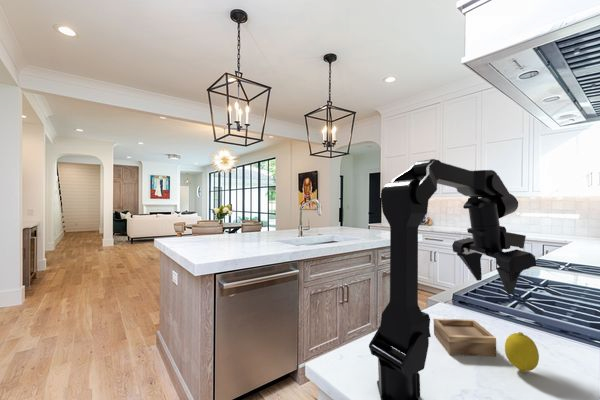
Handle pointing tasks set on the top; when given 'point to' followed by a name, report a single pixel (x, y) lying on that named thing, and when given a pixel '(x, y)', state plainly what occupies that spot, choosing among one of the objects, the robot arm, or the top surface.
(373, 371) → the top surface
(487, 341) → the tan open box
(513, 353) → the lemon
